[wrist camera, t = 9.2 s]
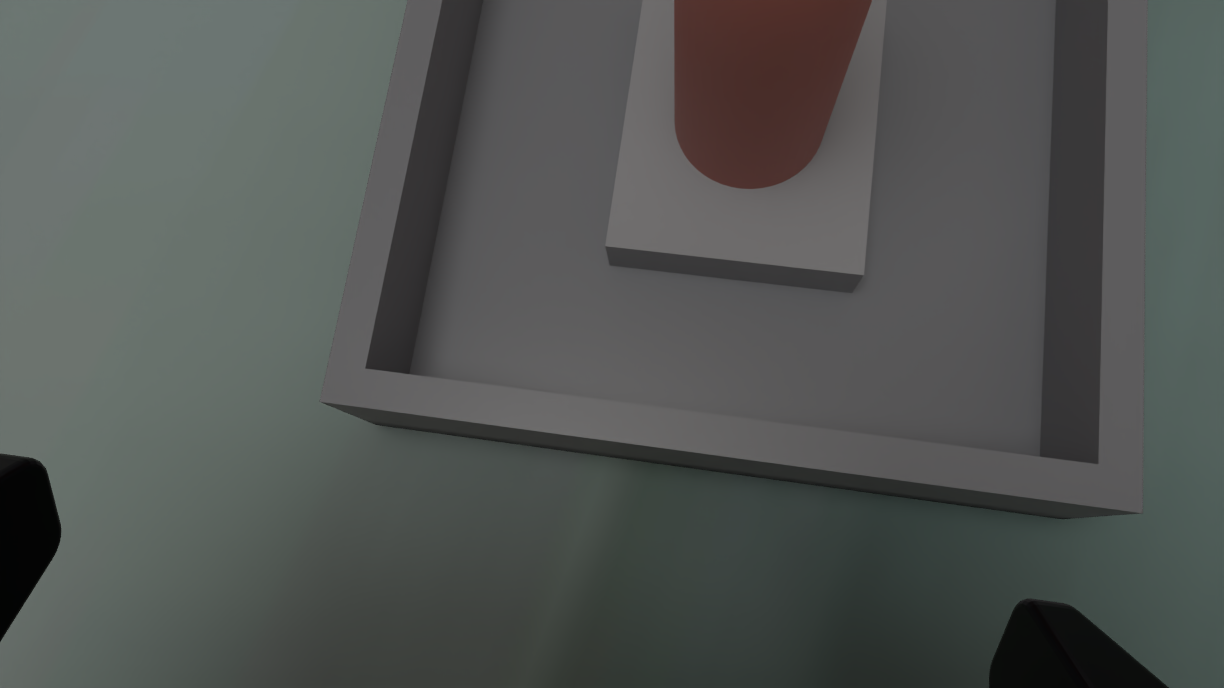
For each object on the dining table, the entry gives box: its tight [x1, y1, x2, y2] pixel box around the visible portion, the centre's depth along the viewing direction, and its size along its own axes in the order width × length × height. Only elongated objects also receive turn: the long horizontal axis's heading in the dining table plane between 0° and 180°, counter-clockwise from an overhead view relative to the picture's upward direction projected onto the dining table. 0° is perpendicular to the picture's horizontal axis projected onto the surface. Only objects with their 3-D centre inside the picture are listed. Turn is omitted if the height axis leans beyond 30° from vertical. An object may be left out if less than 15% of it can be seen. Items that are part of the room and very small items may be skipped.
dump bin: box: [320, 0, 1148, 519], centre depth 18 cm, size 14×14×3 cm
